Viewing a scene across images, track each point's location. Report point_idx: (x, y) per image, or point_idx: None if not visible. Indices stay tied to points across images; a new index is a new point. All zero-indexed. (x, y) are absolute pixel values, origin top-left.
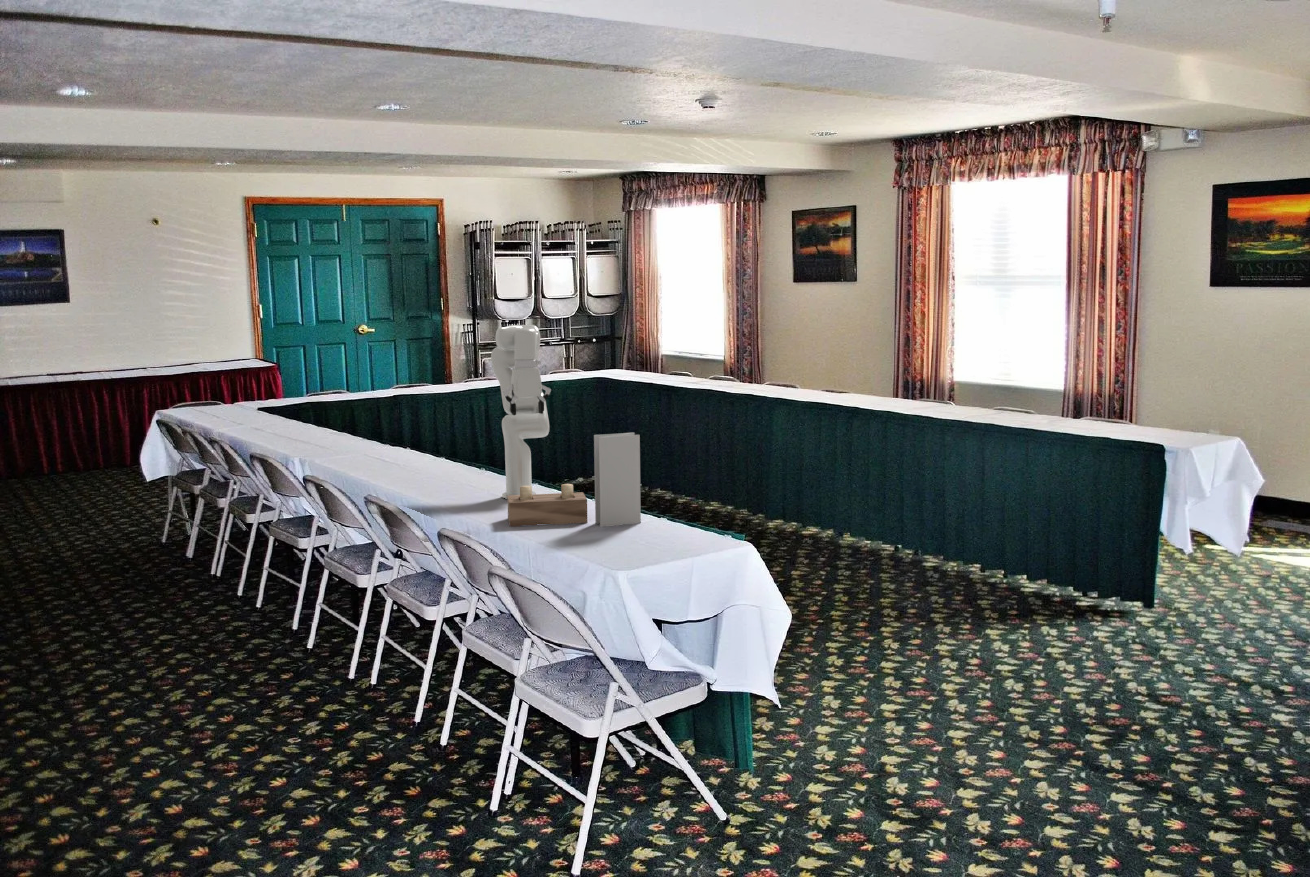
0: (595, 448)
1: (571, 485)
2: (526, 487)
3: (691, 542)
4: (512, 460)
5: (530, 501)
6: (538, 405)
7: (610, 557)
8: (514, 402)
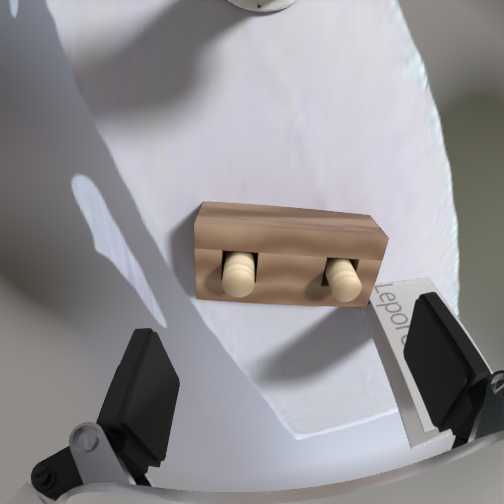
0: (416, 403)
1: (354, 296)
2: (238, 291)
3: None
4: None
5: (245, 298)
6: (447, 352)
7: (308, 412)
8: (146, 467)
